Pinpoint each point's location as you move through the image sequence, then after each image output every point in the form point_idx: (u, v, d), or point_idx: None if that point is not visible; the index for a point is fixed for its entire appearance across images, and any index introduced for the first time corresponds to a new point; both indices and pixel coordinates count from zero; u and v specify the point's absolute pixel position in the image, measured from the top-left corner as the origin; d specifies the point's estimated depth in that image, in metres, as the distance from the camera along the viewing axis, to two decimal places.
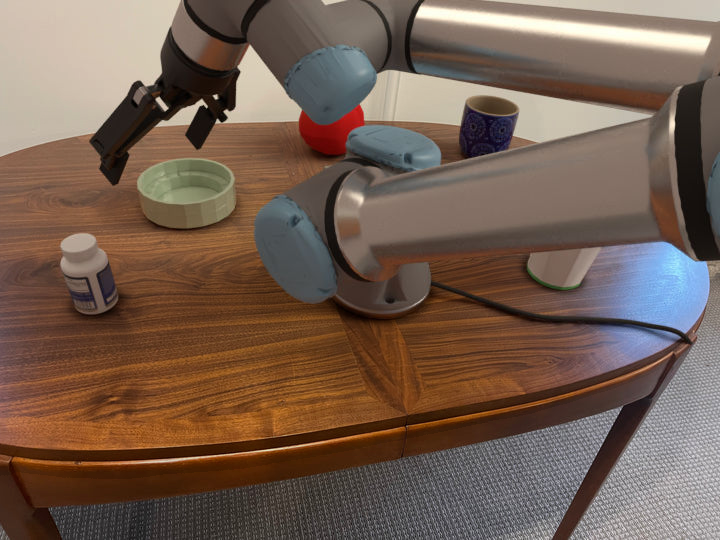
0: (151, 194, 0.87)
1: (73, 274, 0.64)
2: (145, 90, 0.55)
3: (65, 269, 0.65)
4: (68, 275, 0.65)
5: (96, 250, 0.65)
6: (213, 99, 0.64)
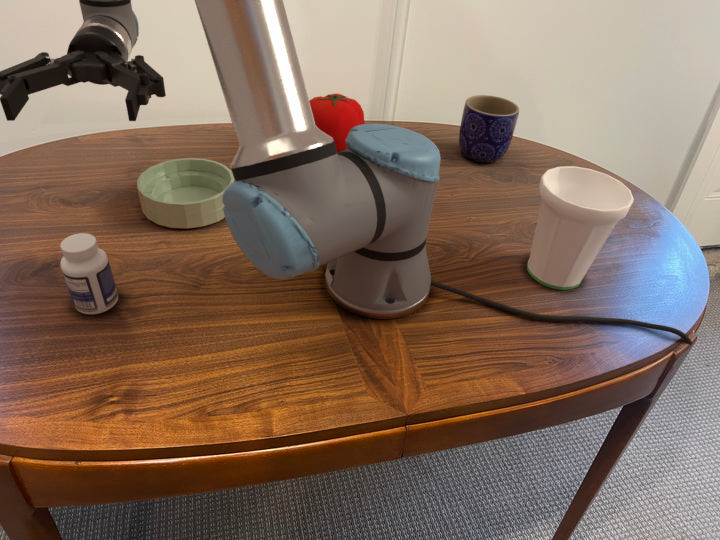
0: (151, 194, 0.87)
1: (73, 274, 0.64)
2: None
3: (65, 269, 0.65)
4: (68, 275, 0.65)
5: (96, 250, 0.65)
6: (114, 59, 0.73)
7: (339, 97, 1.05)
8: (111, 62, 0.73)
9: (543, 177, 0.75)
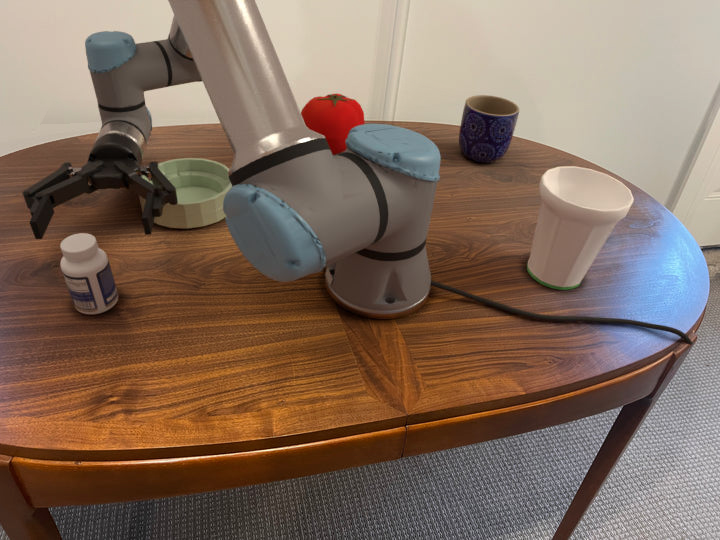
0: None
1: (73, 274, 0.64)
2: None
3: (65, 269, 0.65)
4: (68, 275, 0.65)
5: (96, 250, 0.65)
6: (130, 169, 0.80)
7: (339, 97, 1.05)
8: (128, 173, 0.79)
9: (543, 177, 0.75)
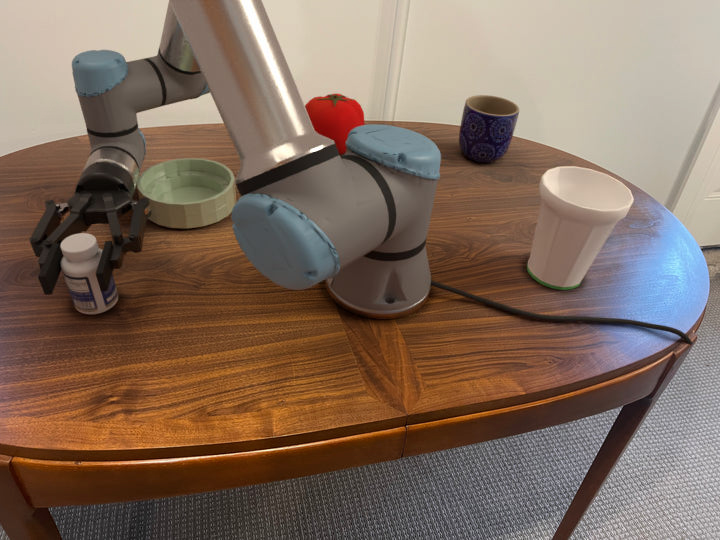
0: (151, 194, 0.87)
1: (73, 274, 0.65)
2: None
3: (65, 269, 0.65)
4: (68, 275, 0.65)
5: (96, 250, 0.65)
6: (113, 205, 0.72)
7: (339, 97, 1.05)
8: (107, 209, 0.72)
9: (543, 177, 0.75)
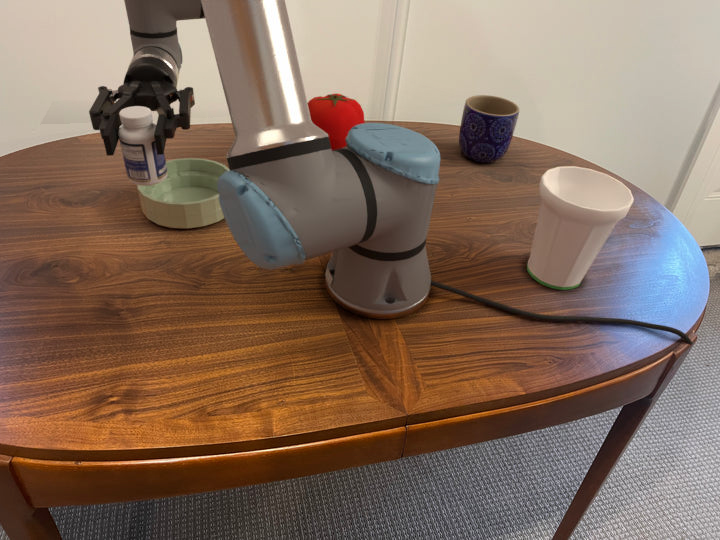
0: (151, 194, 0.87)
1: (131, 140, 0.70)
2: None
3: (123, 136, 0.70)
4: (126, 142, 0.70)
5: (151, 120, 0.71)
6: (161, 90, 0.78)
7: (339, 97, 1.05)
8: (156, 93, 0.77)
9: (543, 177, 0.75)
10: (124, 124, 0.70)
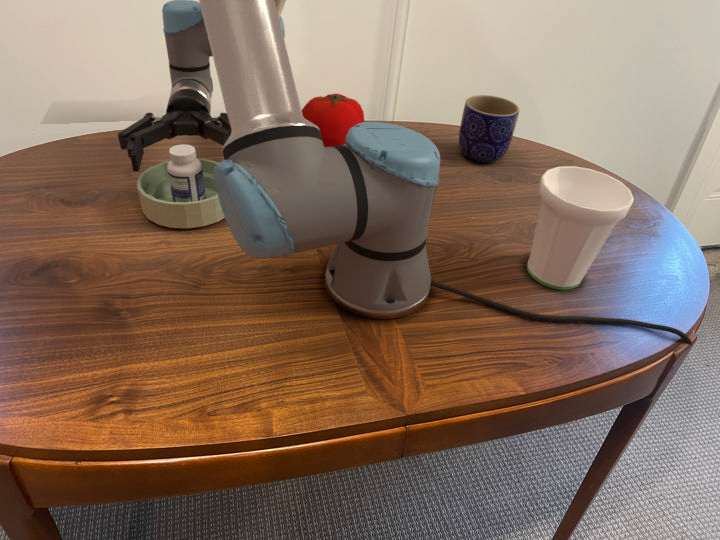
0: (151, 194, 0.87)
1: (178, 173, 0.84)
2: None
3: (172, 170, 0.84)
4: (174, 175, 0.84)
5: (195, 156, 0.85)
6: (205, 117, 0.92)
7: (339, 97, 1.05)
8: (204, 120, 0.91)
9: (543, 177, 0.75)
10: (173, 160, 0.84)
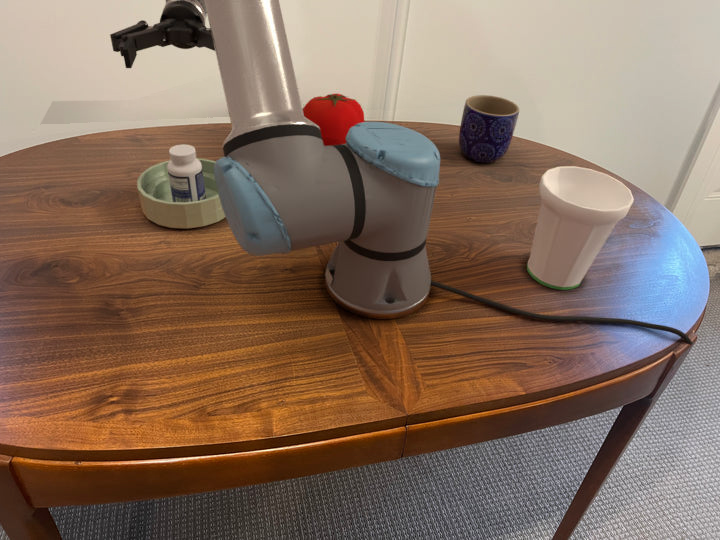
0: (151, 194, 0.87)
1: (178, 173, 0.84)
2: None
3: (172, 170, 0.84)
4: (174, 175, 0.84)
5: (195, 156, 0.85)
6: (199, 25, 0.90)
7: (339, 97, 1.05)
8: (198, 27, 0.90)
9: (543, 177, 0.75)
10: (173, 160, 0.84)
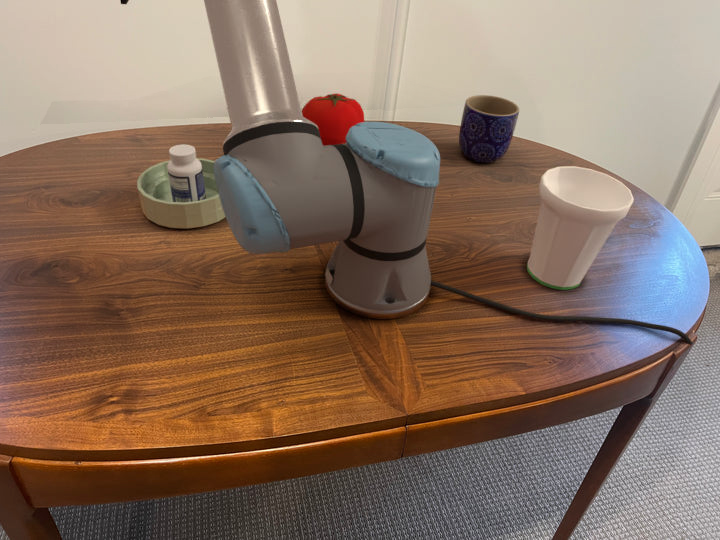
0: (151, 194, 0.87)
1: (178, 173, 0.84)
2: None
3: (172, 170, 0.84)
4: (174, 175, 0.84)
5: (195, 156, 0.85)
6: None
7: (339, 97, 1.05)
8: None
9: (543, 177, 0.75)
10: (173, 160, 0.84)
